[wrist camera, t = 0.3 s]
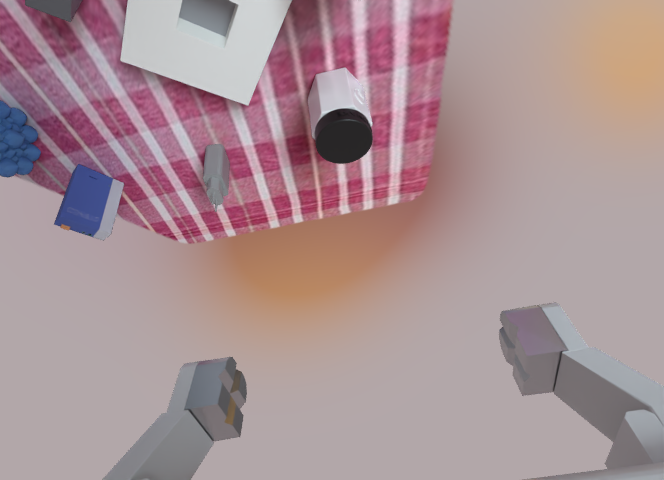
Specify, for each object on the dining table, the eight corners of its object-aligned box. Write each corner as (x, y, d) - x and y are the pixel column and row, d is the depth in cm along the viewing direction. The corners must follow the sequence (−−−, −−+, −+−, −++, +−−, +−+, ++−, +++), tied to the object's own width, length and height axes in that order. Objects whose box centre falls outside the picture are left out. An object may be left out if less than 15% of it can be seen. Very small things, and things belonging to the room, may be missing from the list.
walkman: (72, 172, 72) (53, 226, 65) (78, 163, 70) (59, 217, 63) (118, 191, 76) (104, 243, 70) (124, 183, 75) (111, 235, 68)
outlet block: (149, -132, 41) (142, -120, 38) (302, -47, 48) (305, -32, 46) (126, 44, 54) (120, 60, 52) (248, 89, 62) (247, 105, 60)
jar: (372, 93, 65) (386, 143, 58) (334, 123, 69) (342, 173, 62) (336, 55, 59) (347, 106, 52) (296, 90, 63) (301, 142, 56)
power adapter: (213, 168, 74) (209, 219, 67) (204, 145, 70) (199, 198, 63) (230, 166, 74) (228, 217, 67) (222, 143, 70) (219, 195, 63)
